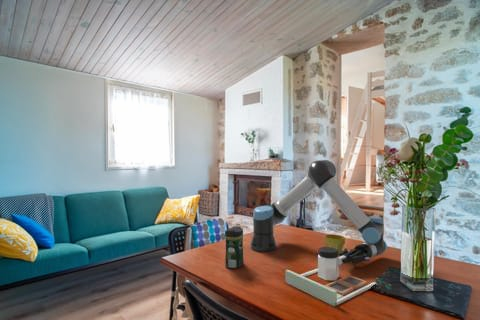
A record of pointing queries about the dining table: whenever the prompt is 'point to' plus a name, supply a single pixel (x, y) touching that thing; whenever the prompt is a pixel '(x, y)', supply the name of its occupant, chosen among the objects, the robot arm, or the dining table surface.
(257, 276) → the dining table surface
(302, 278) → the pale green u-shaped frame
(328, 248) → the jar
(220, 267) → the dining table surface
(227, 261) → the coffee jar
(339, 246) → the plant pot
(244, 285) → the dining table surface
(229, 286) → the dining table surface
